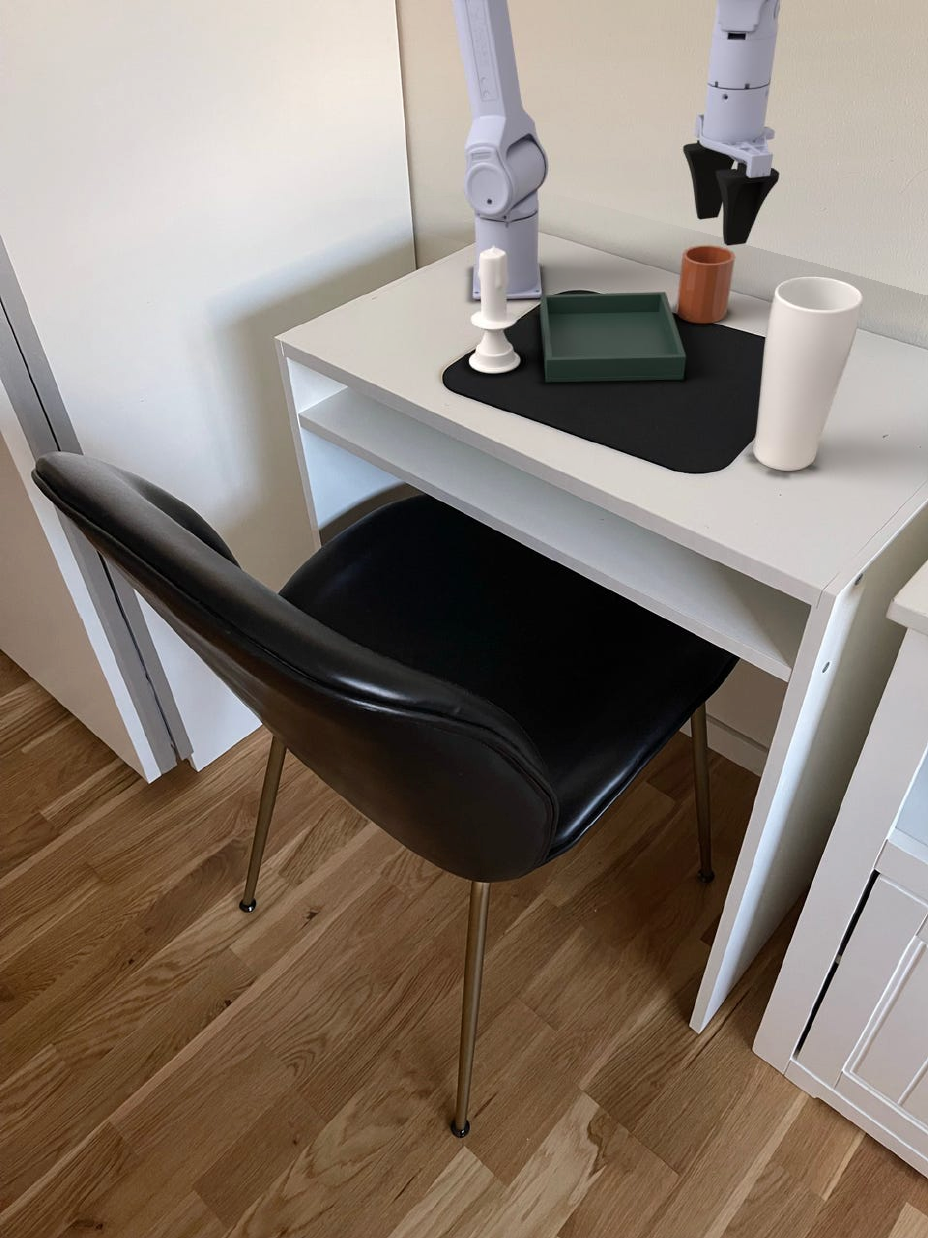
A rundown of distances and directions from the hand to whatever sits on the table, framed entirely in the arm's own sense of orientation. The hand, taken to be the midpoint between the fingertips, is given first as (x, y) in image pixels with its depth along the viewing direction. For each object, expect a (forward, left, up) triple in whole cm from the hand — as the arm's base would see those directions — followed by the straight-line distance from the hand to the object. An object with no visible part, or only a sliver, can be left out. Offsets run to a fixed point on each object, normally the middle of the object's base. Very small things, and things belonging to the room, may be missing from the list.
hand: (720, 230), depth 98 cm
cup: (-2, 0, -10) cm, 10 cm away
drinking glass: (+27, +2, -10) cm, 29 cm away
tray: (+5, -11, -10) cm, 16 cm away
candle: (+8, -23, -10) cm, 27 cm away
